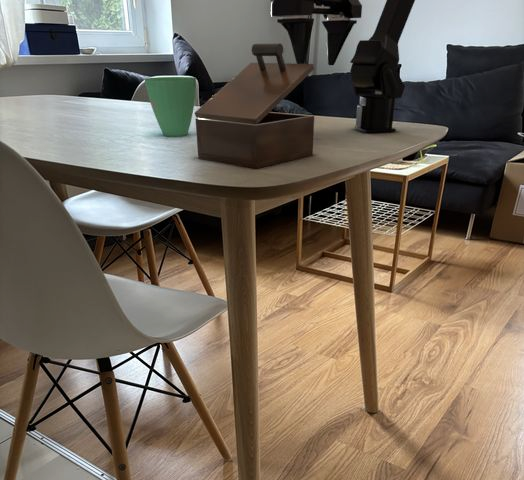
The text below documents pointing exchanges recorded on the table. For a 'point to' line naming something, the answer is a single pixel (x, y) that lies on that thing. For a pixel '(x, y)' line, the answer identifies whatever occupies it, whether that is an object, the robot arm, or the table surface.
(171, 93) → the mug
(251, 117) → the lid
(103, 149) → the table surface
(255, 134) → the keepsake box
